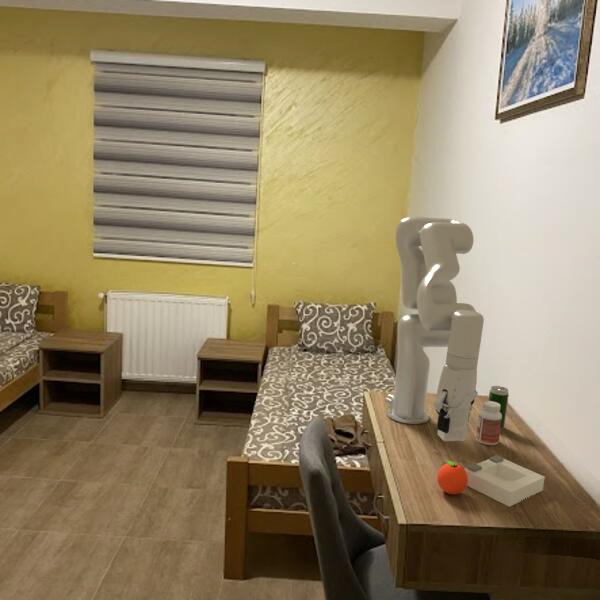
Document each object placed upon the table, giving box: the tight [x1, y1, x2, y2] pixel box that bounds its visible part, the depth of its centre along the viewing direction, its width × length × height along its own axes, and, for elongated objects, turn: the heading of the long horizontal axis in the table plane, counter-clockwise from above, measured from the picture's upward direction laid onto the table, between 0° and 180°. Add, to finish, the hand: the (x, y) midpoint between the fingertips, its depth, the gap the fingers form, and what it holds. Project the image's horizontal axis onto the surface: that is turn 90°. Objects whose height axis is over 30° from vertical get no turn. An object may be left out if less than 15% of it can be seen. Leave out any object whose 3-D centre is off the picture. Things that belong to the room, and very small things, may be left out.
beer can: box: [487, 385, 510, 431], centre depth 185 cm, size 5×5×12 cm
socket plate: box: [464, 454, 546, 507], centre depth 149 cm, size 13×14×4 cm
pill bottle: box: [475, 400, 502, 446], centre depth 175 cm, size 6×6×11 cm
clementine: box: [436, 460, 468, 495], centre depth 145 cm, size 8×7×7 cm
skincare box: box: [437, 395, 471, 442], centre depth 157 cm, size 6×4×12 cm
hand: (452, 427), depth 158 cm, fingers closed on skincare box, 7 cm apart
